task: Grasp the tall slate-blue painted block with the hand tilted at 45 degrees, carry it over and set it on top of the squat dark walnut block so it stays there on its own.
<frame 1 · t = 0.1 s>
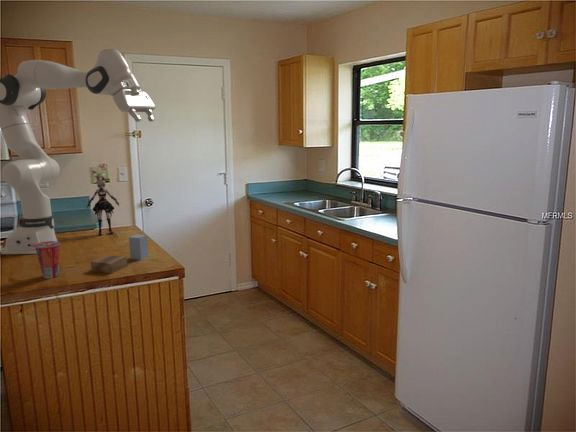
hand: (145, 120, 183), 54 cm above the countertop, tool tilted 30°, fingers open, 8 cm apart
walnut block: (109, 269, 180), on the countertop
blue block: (139, 257, 194), on the countertop
cup: (49, 276, 172), on the countertop
figurine: (105, 234, 233), on the countertop
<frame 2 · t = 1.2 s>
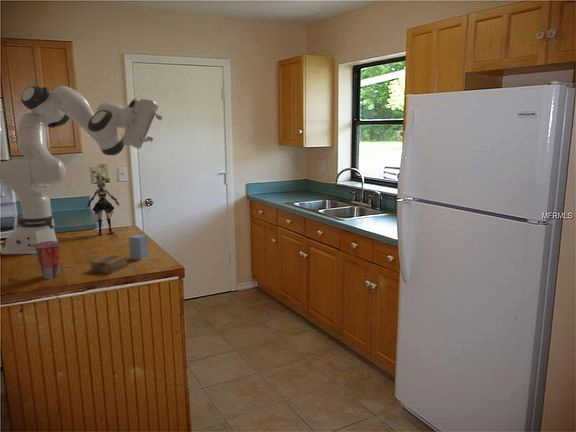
hand: (156, 128, 192), 51 cm above the countertop, tool horizontal, fingers open, 8 cm apart
nothing on the countertop moved.
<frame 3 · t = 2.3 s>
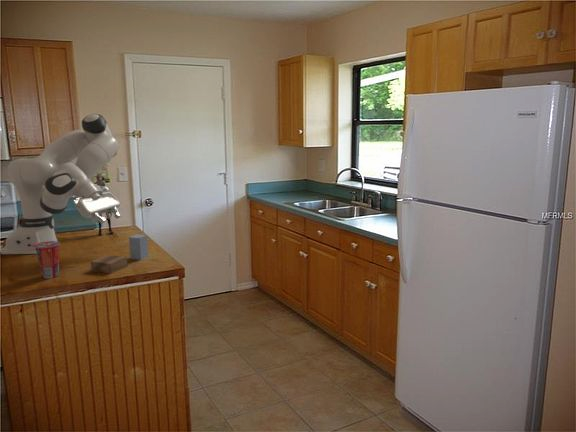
hand: (111, 219, 195), 15 cm above the countertop, tool tilted 45°, fingers open, 8 cm apart
nothing on the countertop moved.
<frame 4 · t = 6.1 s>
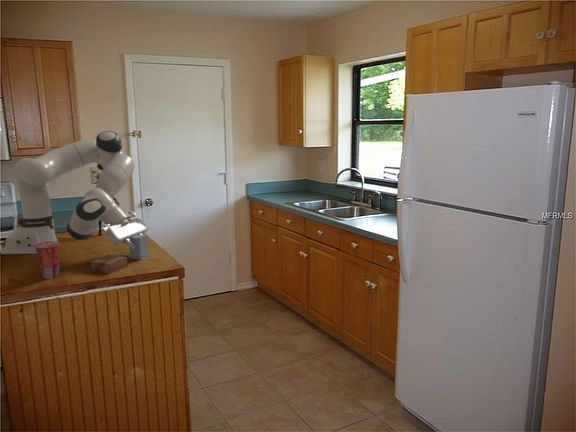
hand: (140, 246, 192), 5 cm above the countertop, tool tilted 45°, fingers closed on blue block, 5 cm apart
blue block: (139, 257, 194), on the countertop, touching gripper
everything else where it was.
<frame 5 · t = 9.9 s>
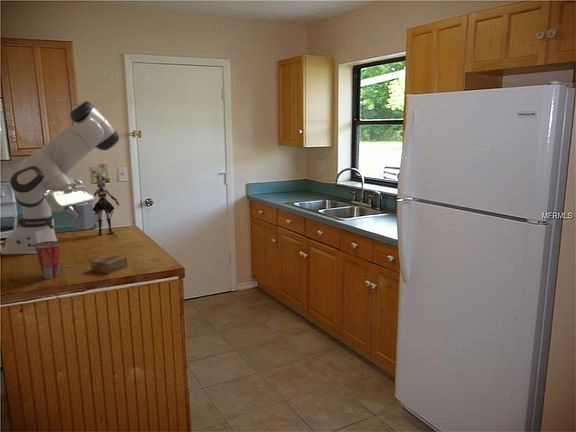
hand: (84, 215, 181), 20 cm above the countertop, tool tilted 45°, fingers closed on blue block, 5 cm apart
blue block: (83, 227, 182), point 15 cm above the countertop, touching gripper
everything else where it was.
when the fingers open (10 cm above the countertop, at t = 13.8 s): blue block drops 2 cm, resting on walnut block.
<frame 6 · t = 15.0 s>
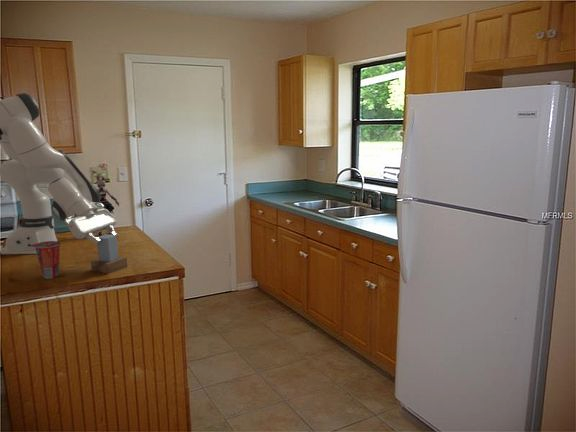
hand: (107, 239, 178), 11 cm above the countertop, tool tilted 45°, fingers open, 8 cm apart
walnut block: (109, 269, 180), on the countertop, touching blue block
blue block: (108, 259, 179), point 4 cm above the countertop, touching walnut block
everything else where it was.
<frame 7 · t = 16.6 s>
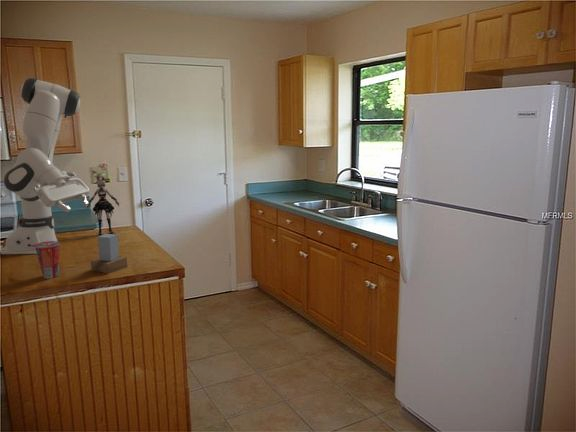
hand: (78, 208, 180), 22 cm above the countertop, tool tilted 45°, fingers open, 8 cm apart
nothing on the countertop moved.
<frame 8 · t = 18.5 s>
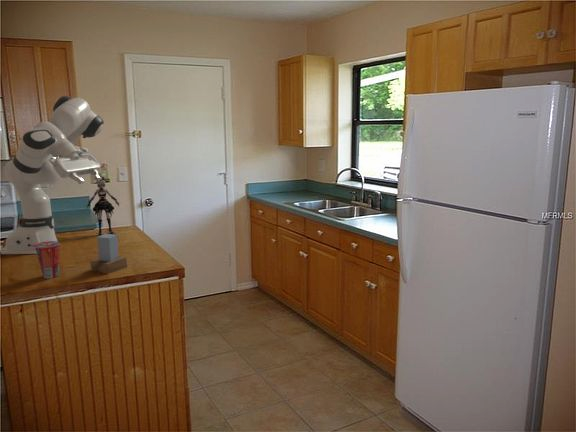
hand: (90, 181, 187), 31 cm above the countertop, tool tilted 45°, fingers open, 8 cm apart
nothing on the countertop moved.
at the end: blue block 0.1 cm off-centre on the walnut block, point 4.0 cm above the walnut block's base; blue block tilted 0°; the gripper is holding nothing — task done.
